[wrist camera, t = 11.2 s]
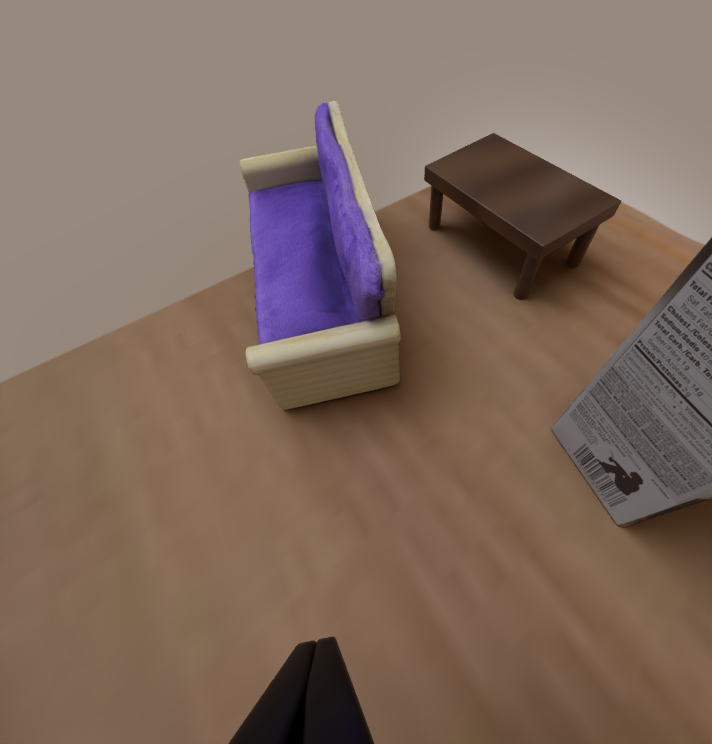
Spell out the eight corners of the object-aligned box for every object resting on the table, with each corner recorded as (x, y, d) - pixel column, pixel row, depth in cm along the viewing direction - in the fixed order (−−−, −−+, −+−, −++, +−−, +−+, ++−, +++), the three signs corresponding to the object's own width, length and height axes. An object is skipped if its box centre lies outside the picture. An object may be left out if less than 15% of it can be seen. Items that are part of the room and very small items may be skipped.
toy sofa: (262, 227, 36) (218, 110, 28) (350, 208, 36) (333, 85, 28) (279, 421, 25) (213, 325, 16) (405, 393, 25) (405, 283, 17)
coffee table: (587, 264, 29) (622, 200, 25) (520, 305, 28) (543, 246, 23) (481, 194, 35) (493, 132, 31) (421, 225, 34) (424, 165, 29)
